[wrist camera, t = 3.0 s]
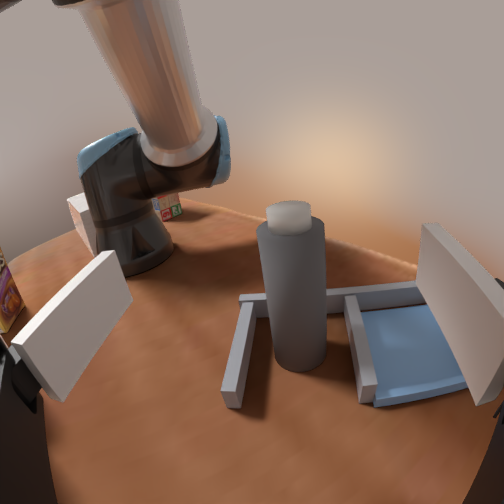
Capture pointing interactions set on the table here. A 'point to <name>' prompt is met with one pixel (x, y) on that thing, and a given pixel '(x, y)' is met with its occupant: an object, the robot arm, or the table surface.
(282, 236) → the grey bottle
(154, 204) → the stack of blocks
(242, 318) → the grey frame
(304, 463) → the table surface
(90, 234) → the long white block
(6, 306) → the candy box
